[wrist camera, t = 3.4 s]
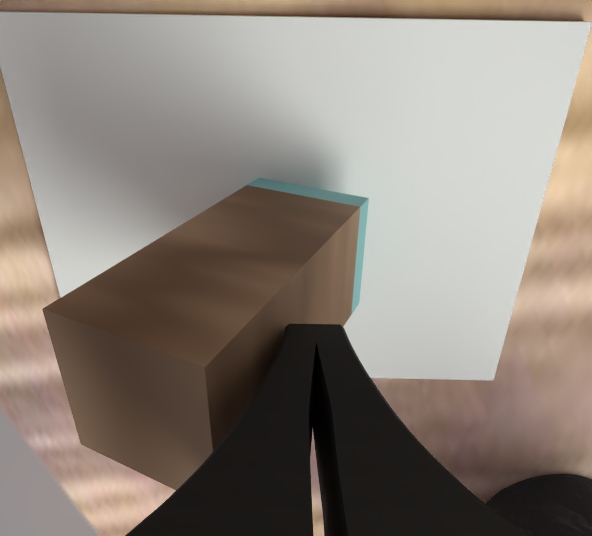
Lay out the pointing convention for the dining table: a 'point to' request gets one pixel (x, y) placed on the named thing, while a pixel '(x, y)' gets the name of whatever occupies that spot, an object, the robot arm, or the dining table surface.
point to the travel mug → (548, 506)
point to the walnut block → (203, 321)
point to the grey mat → (307, 150)
